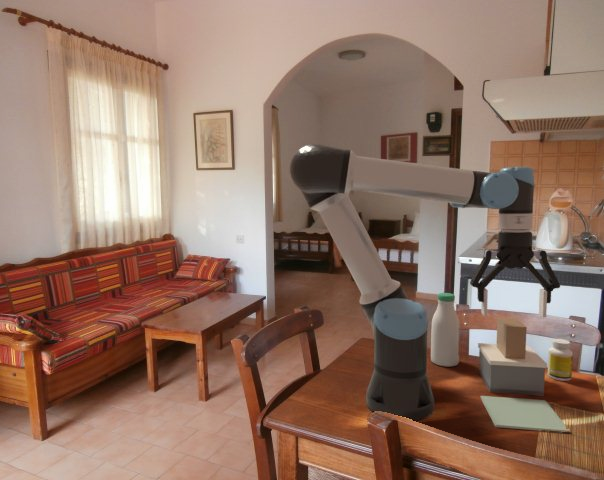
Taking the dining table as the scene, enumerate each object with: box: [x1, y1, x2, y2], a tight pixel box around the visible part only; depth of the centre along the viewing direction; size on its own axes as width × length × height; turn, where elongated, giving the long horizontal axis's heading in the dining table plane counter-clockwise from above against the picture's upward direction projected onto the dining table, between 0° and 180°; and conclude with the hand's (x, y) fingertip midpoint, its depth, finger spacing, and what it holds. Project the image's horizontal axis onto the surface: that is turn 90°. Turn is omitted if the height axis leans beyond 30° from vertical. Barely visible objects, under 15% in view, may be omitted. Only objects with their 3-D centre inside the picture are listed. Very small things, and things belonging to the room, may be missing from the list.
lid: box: [477, 316, 548, 369], centre depth 106 cm, size 13×13×10 cm
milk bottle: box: [430, 292, 461, 368], centre depth 120 cm, size 8×8×20 cm
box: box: [478, 348, 546, 397], centre depth 106 cm, size 12×12×7 cm
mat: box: [480, 395, 571, 432], centre depth 91 cm, size 14×13×1 cm
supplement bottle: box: [547, 338, 574, 382], centre depth 110 cm, size 5×5×10 cm
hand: (513, 315), depth 105 cm, fingers open, 13 cm apart
